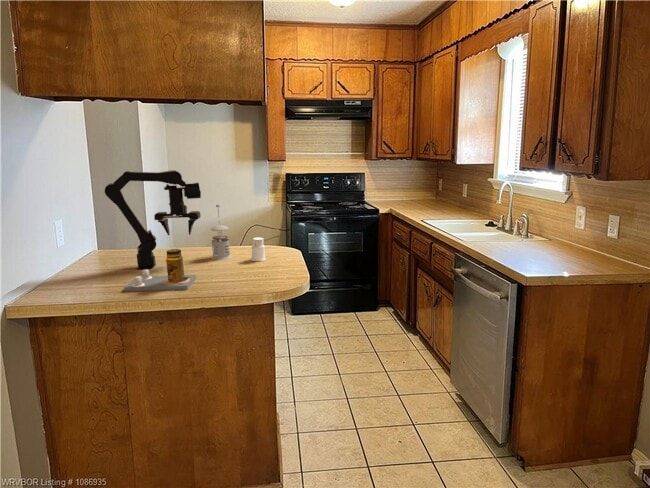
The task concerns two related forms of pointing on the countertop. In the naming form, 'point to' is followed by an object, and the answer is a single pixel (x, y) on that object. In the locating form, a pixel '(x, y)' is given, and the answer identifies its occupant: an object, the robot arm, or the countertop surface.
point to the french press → (220, 243)
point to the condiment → (175, 267)
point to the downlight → (258, 250)
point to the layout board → (157, 283)
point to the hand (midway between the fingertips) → (179, 234)
